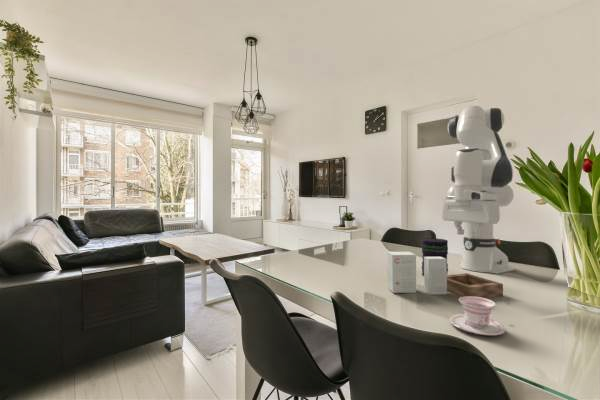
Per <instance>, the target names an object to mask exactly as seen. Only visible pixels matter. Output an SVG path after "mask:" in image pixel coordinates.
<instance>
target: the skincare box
mask: <svg viewBox="0 0 600 400" xmlns="http://www.w3.org/2000/svg"><path fill="white" fill-rule="evenodd" d="M447 264H448V258H447V259H446V258H443V257H440V256H439V257H424V276H423V285H424V286H423V288H424V289H423V291H424V292H425V293H427V294H428V295H448V292H447V275H448V274H447V268H448V267H447Z"/></svg>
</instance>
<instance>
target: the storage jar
mask: <svg viewBox="0 0 600 400" xmlns="http://www.w3.org/2000/svg"><path fill="white" fill-rule="evenodd" d="M448 242H449V241H448V240H447V239H445V238H430V237H429V238H428V237H427V238H422V239H421V249H422V250H421V253H422V261H421V271H422V273H421V276H422V277H424V257H439V256H440V257H443V258H446V259H447V260H448V253H449V252H448V250H449V247H448V246H449V245H448ZM448 267H449V265H448V263H447V275H449V274H448V272H449V268H448Z"/></svg>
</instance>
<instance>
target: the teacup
mask: <svg viewBox="0 0 600 400" xmlns="http://www.w3.org/2000/svg"><path fill="white" fill-rule="evenodd" d="M458 301H459V304H460V305H461V307H462V309H463V311H464V313H456V314H453V315H451V316H450V317H449V322H450V323H451V325H453V326H455V327H456V328H458V329H460V330H463V331H465V332H468V333H472V334H476V335H482V336H499V335H503V334H504V333H505V332H506V328H505V327H504V325H503V324H502V323H500V322H498V321H497V320H494V319H493V318H490V315H491V314H492V311H493V310H494V309H495V307H496V305H497V303H496V302H494V301H493V300H491V299H490V298H481V297H474V296H465V297H459V298H458ZM466 322H468V323H466Z"/></svg>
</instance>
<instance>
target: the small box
mask: <svg viewBox="0 0 600 400" xmlns="http://www.w3.org/2000/svg"><path fill="white" fill-rule="evenodd" d="M387 288H388V289H389V290H390V291H391V292H392V293H393V294H394V293H395V294H396V293H397V294H399V293H401V294H402V293H403V294H404V293H405V294H406V293H407V294H414V293H415V294H416V293H417V254H415V253H414V252H411V251H387Z"/></svg>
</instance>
